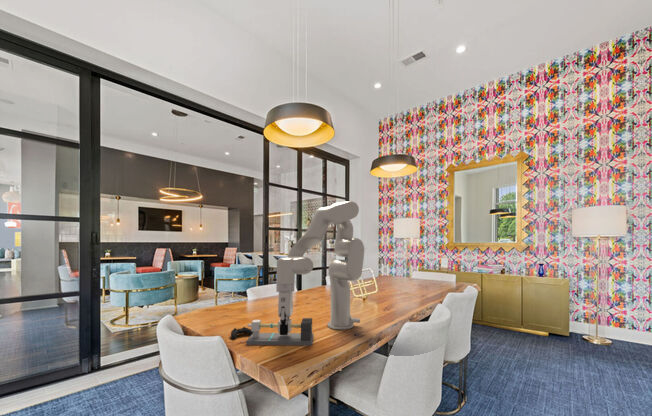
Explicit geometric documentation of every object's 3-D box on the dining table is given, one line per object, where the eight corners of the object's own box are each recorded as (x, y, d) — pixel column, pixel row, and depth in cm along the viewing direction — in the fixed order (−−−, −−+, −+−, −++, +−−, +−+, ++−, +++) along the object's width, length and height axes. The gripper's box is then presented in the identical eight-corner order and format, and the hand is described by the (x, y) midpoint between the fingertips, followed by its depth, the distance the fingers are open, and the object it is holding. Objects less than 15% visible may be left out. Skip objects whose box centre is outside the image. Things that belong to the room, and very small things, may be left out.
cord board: (313, 336, 123) (313, 317, 124) (311, 345, 113) (311, 324, 114) (250, 336, 124) (251, 316, 125) (243, 344, 114) (244, 323, 115)
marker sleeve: (291, 329, 121) (291, 319, 121) (290, 332, 117) (290, 321, 117) (279, 329, 121) (279, 318, 122) (277, 332, 117) (278, 321, 117)
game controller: (233, 338, 119) (230, 325, 123) (229, 345, 121) (226, 332, 125) (255, 334, 125) (251, 322, 128) (251, 341, 127) (248, 328, 131)
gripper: (291, 291, 112) (290, 339, 110) (296, 284, 129) (296, 326, 127) (272, 291, 113) (271, 339, 111) (280, 284, 129) (279, 326, 127)
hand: (284, 332), depth 119 cm, fingers closed on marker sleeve, 4 cm apart
